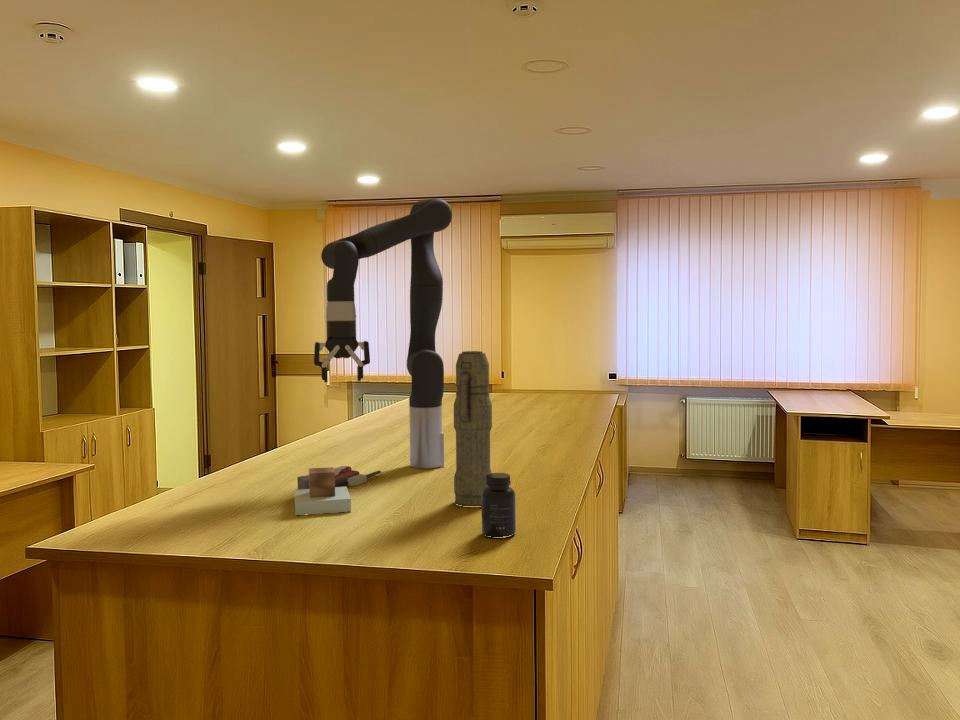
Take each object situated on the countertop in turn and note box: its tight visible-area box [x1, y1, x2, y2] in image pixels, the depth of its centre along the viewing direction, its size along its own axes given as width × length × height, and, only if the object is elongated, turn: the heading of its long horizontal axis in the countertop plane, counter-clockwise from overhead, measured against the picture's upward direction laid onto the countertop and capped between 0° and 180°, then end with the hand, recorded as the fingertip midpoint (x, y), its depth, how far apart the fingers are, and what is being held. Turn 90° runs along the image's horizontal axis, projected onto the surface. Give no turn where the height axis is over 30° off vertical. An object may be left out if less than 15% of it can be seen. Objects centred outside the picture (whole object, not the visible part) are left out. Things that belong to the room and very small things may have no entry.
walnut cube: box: [308, 466, 335, 498], centre depth 174 cm, size 6×6×6 cm
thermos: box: [453, 350, 493, 506], centre depth 176 cm, size 9×12×35 cm
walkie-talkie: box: [334, 465, 382, 487], centre depth 199 cm, size 9×4×20 cm
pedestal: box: [294, 486, 352, 516], centre depth 175 cm, size 12×12×3 cm
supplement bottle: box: [480, 472, 517, 537], centre depth 152 cm, size 7×7×12 cm
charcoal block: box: [296, 474, 309, 490], centre depth 184 cm, size 5×5×5 cm
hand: (342, 381), depth 200 cm, fingers open, 8 cm apart
